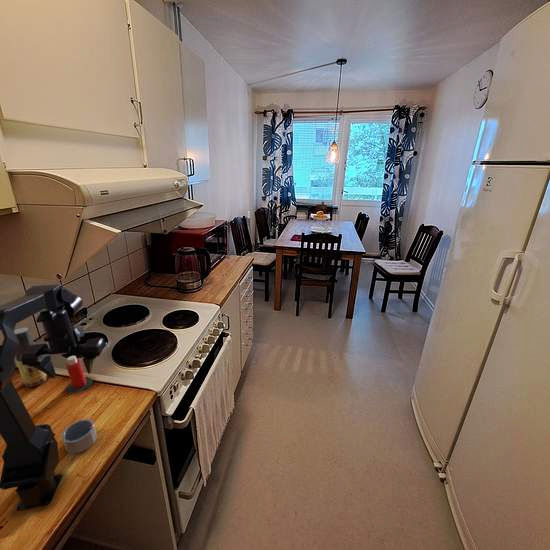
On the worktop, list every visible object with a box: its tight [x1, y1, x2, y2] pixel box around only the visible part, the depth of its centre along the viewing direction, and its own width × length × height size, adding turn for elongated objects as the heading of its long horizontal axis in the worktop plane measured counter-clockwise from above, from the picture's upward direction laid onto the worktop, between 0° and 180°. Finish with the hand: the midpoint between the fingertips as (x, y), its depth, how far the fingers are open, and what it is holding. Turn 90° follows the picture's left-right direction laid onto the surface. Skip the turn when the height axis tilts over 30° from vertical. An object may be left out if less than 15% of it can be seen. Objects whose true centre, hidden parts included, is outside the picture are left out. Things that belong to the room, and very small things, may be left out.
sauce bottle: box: [14, 327, 48, 388], centre depth 93 cm, size 6×6×20 cm
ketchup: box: [65, 355, 86, 389], centre depth 93 cm, size 4×4×11 cm
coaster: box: [66, 376, 93, 394], centre depth 95 cm, size 7×7×1 cm
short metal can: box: [61, 418, 98, 455], centre depth 76 cm, size 7×7×4 cm
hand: (72, 375), depth 82 cm, fingers open, 9 cm apart
